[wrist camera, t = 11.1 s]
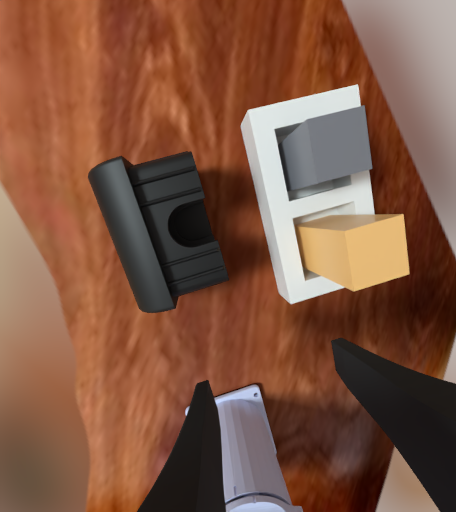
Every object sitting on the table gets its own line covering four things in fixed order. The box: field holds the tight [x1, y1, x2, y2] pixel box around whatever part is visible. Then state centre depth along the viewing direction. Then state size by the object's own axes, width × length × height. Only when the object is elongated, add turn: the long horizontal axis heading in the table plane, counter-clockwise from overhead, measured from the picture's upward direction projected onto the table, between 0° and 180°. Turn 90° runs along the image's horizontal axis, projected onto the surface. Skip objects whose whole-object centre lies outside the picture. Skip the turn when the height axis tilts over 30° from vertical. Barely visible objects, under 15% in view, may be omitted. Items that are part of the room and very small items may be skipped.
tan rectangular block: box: [294, 214, 409, 291], centre depth 18 cm, size 4×4×8 cm
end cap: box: [88, 151, 229, 313], centre depth 17 cm, size 10×7×7 cm
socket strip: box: [241, 85, 375, 304], centre depth 19 cm, size 16×9×6 cm, turn 15°
